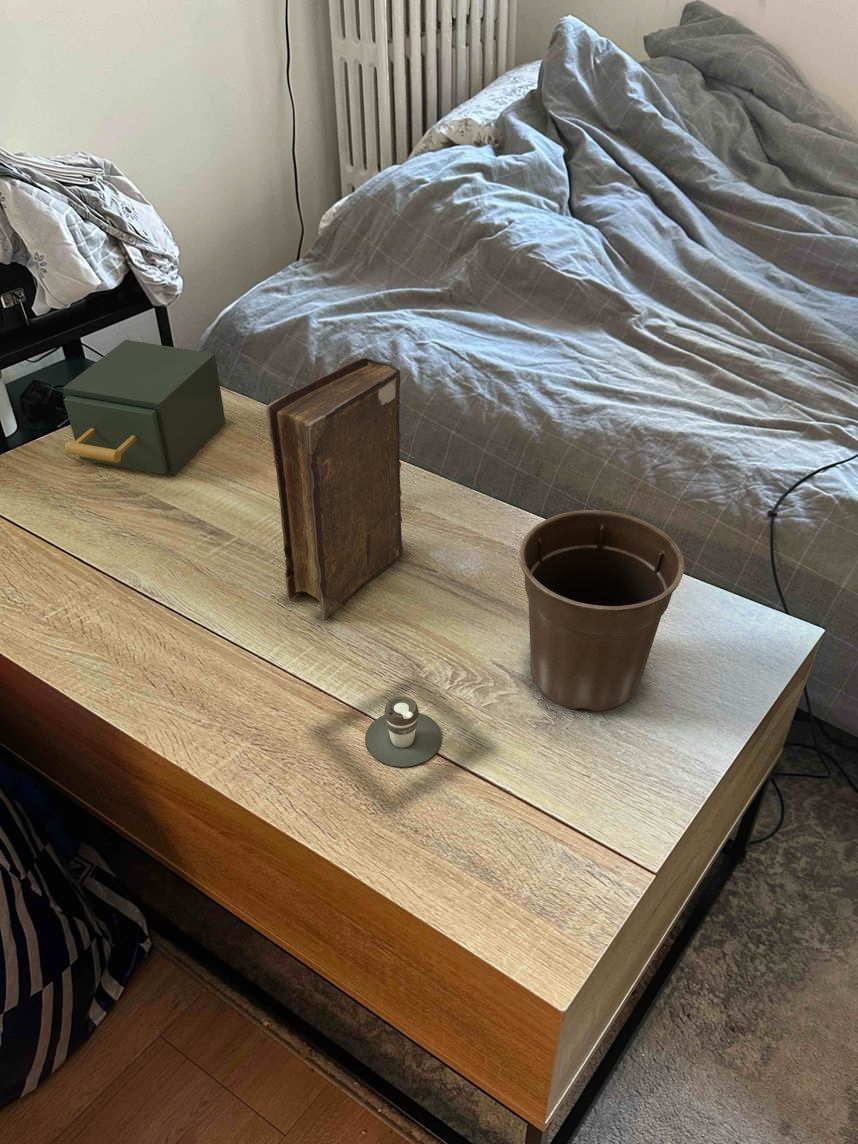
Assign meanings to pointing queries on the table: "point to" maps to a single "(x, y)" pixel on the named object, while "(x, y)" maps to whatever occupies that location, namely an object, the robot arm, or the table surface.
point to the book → (339, 480)
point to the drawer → (115, 434)
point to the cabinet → (161, 393)
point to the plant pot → (595, 603)
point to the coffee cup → (403, 735)
